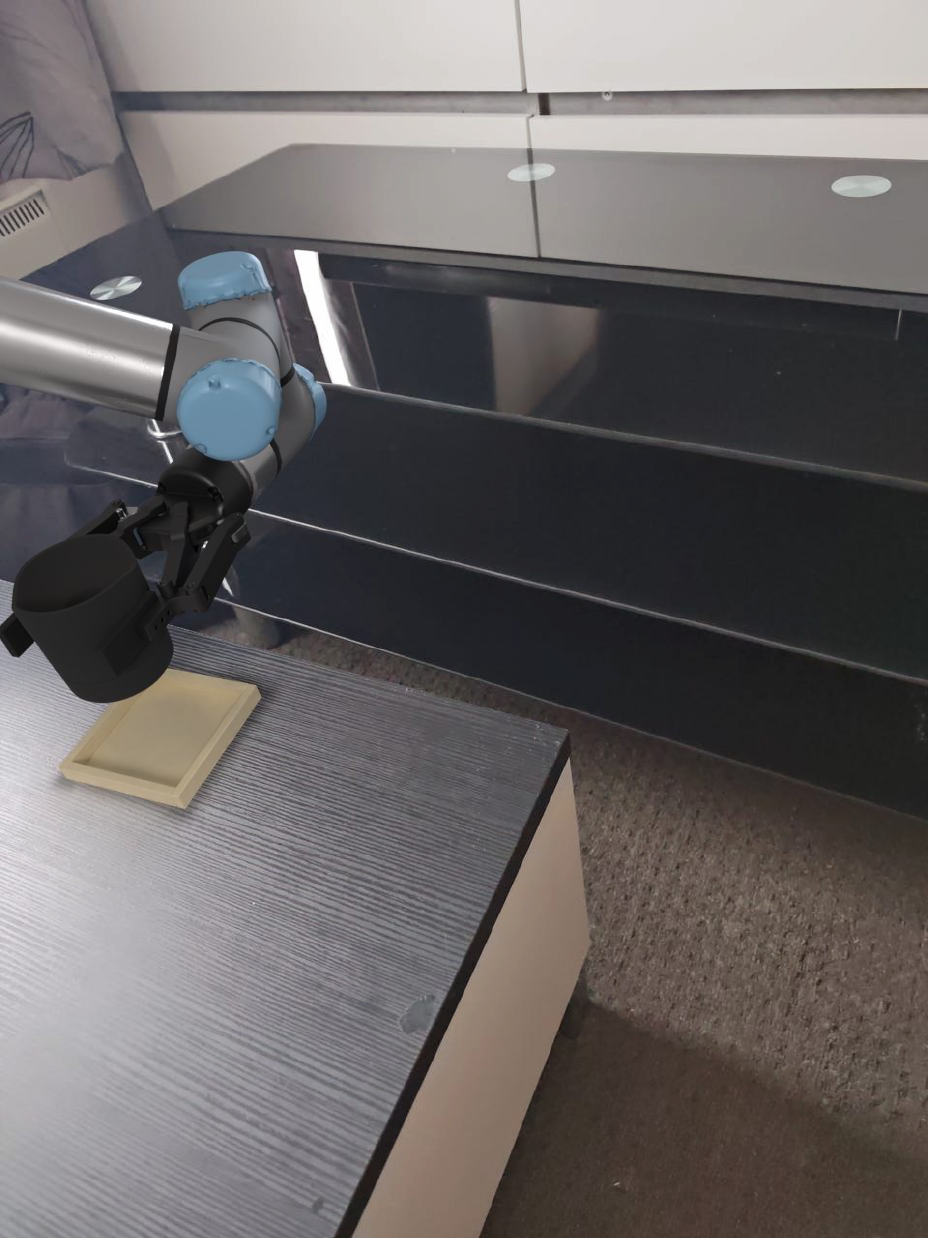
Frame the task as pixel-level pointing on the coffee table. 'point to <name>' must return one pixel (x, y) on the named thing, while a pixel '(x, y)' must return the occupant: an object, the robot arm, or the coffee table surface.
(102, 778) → the pad
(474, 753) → the coffee table surface
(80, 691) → the pen holder
